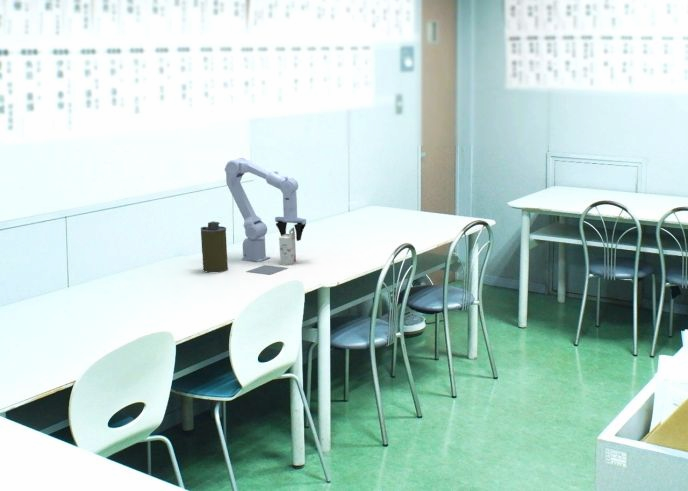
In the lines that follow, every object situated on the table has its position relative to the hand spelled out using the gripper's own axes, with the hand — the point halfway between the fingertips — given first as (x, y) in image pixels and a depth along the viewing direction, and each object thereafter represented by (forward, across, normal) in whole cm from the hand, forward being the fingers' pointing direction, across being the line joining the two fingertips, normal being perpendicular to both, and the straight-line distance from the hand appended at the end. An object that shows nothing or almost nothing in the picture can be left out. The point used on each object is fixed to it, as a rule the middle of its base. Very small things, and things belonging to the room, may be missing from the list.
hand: (291, 239), depth 418 cm
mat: (+9, 0, -18) cm, 20 cm away
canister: (+10, -20, -27) cm, 35 cm away
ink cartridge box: (+10, 0, -3) cm, 10 cm away
